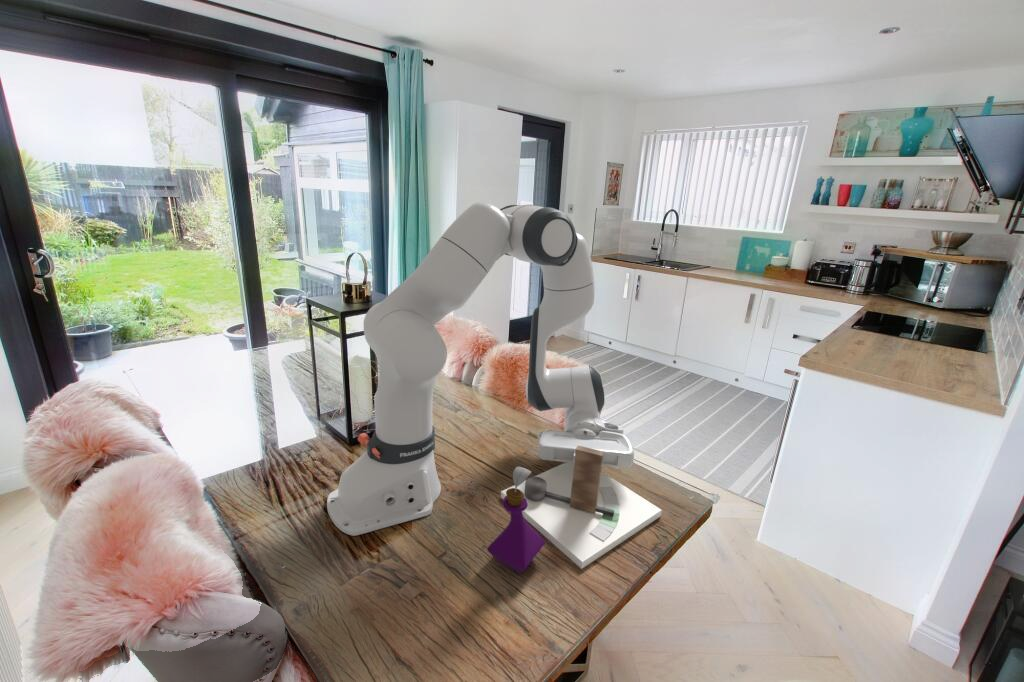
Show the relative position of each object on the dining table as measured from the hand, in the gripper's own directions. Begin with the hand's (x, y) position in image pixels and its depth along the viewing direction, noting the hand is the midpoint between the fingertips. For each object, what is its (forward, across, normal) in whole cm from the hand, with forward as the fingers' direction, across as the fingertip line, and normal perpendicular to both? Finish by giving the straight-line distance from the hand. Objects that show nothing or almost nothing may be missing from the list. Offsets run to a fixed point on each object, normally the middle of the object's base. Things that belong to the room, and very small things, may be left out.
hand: (586, 470), depth 90 cm
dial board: (+1, -1, +8) cm, 8 cm away
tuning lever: (+3, -3, +6) cm, 8 cm away
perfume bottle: (+17, -12, +8) cm, 23 cm away
